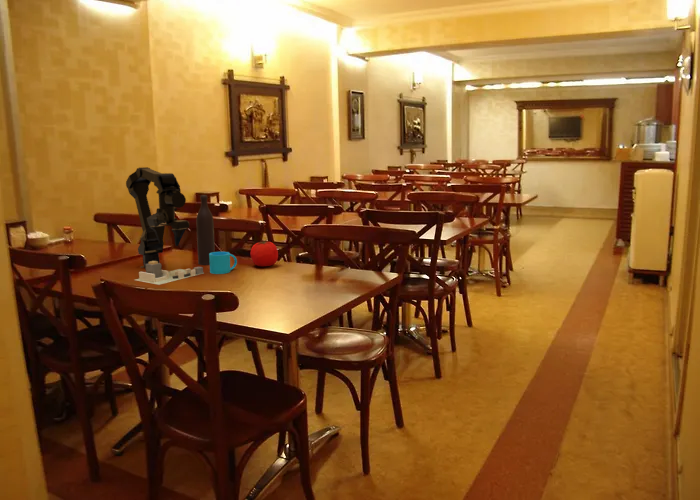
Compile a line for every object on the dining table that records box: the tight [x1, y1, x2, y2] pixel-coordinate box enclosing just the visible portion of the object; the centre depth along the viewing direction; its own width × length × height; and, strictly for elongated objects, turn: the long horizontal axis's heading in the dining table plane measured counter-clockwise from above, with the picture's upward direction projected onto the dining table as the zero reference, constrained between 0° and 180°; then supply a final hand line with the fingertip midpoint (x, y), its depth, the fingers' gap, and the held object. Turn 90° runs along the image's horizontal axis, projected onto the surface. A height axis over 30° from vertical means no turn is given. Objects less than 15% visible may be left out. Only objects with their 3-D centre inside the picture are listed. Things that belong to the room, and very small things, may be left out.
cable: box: [173, 273, 190, 279], centre depth 232 cm, size 2×10×1 cm, turn 148°
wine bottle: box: [195, 194, 216, 266], centre depth 254 cm, size 7×7×30 cm
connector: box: [145, 261, 162, 278], centre depth 227 cm, size 4×4×7 cm
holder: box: [138, 269, 169, 282], centre depth 227 cm, size 9×7×3 cm
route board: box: [134, 268, 204, 286], centre depth 232 cm, size 14×23×1 cm, turn 148°
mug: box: [209, 251, 238, 275], centre depth 241 cm, size 12×8×8 cm
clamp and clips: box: [175, 266, 204, 280], centre depth 233 cm, size 4×12×2 cm, turn 148°
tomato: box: [249, 240, 279, 267], centre depth 253 cm, size 12×12×11 cm
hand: (168, 244), depth 236 cm, fingers open, 9 cm apart
